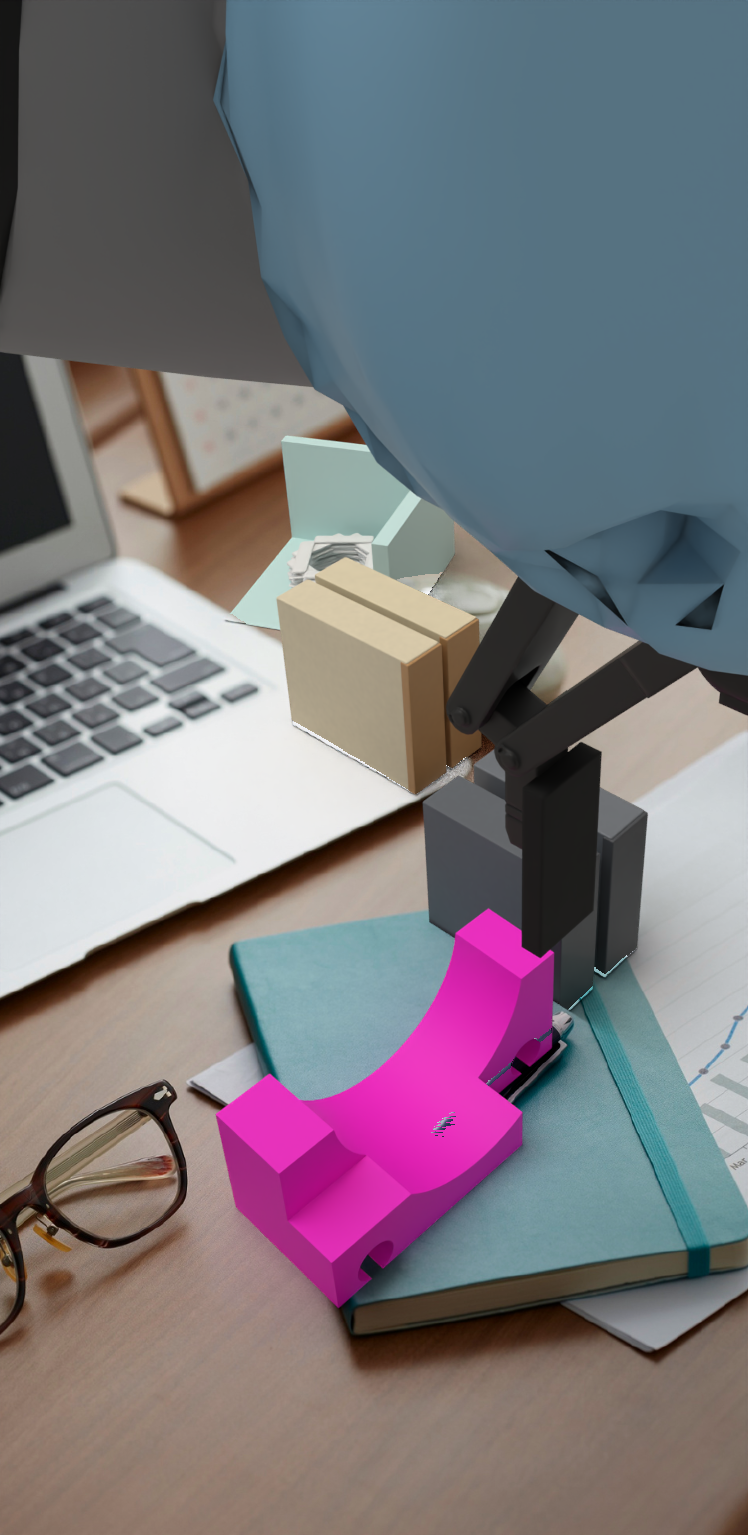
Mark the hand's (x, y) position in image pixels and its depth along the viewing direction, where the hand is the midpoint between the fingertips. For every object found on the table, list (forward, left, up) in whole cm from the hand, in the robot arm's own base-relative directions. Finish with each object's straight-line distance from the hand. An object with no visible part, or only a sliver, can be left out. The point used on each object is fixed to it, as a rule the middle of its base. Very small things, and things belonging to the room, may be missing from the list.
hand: (745, 1040), depth 41 cm
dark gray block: (+14, +18, -19) cm, 30 cm away
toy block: (0, +14, -19) cm, 23 cm away
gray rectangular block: (+11, +18, -19) cm, 28 cm away
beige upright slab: (+21, +35, -19) cm, 45 cm away
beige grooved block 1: (+18, +35, -19) cm, 44 cm away
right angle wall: (+30, +49, -19) cm, 60 cm away
